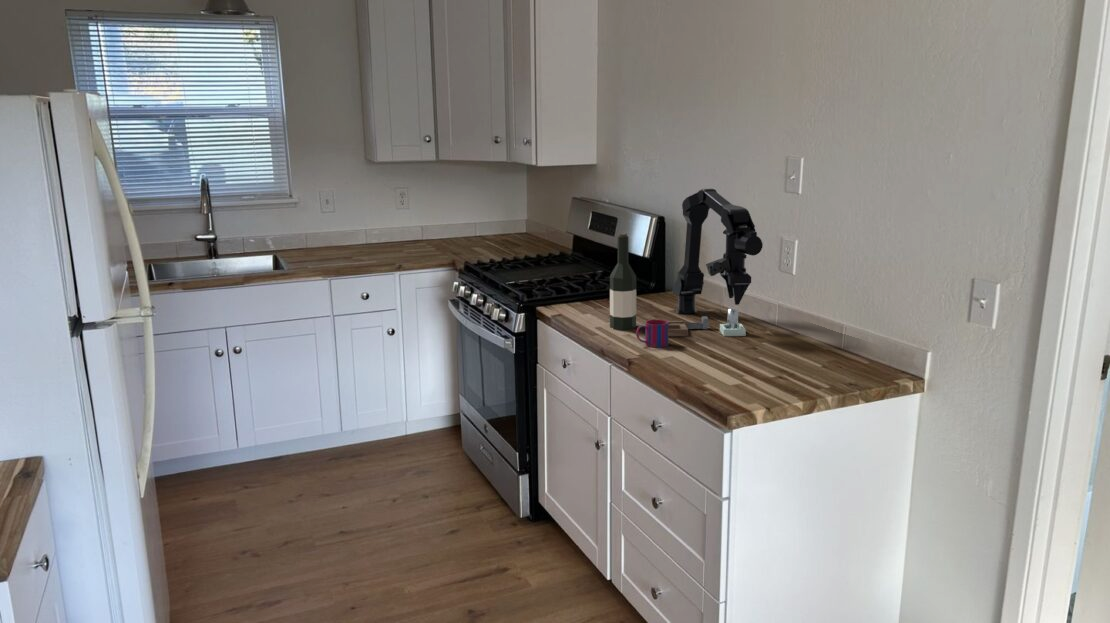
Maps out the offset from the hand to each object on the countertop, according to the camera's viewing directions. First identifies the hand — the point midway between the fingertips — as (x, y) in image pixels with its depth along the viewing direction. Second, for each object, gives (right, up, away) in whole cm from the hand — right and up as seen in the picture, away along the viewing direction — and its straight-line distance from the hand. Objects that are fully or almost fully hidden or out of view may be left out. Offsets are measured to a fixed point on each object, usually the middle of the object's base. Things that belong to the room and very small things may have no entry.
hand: (733, 301), depth 249 cm
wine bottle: (-33, -8, +12) cm, 36 cm away
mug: (-26, -13, -8) cm, 30 cm away
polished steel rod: (0, -9, +3) cm, 10 cm away
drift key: (-13, -9, +9) cm, 18 cm away
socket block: (-18, -9, +6) cm, 21 cm away
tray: (0, -10, +3) cm, 10 cm away
